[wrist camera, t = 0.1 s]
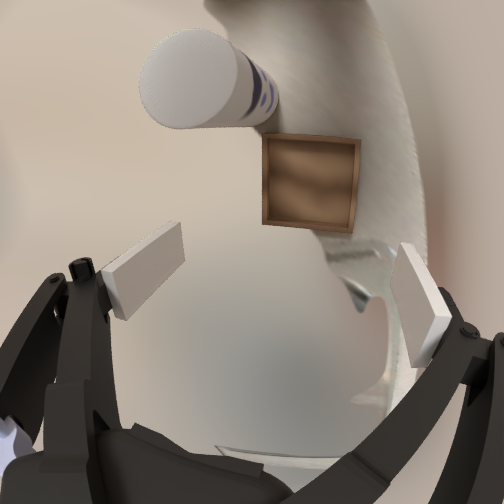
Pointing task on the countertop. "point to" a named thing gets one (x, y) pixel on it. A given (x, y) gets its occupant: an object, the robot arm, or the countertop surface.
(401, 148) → the countertop surface
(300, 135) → the stand
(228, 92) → the container
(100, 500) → the robot arm
